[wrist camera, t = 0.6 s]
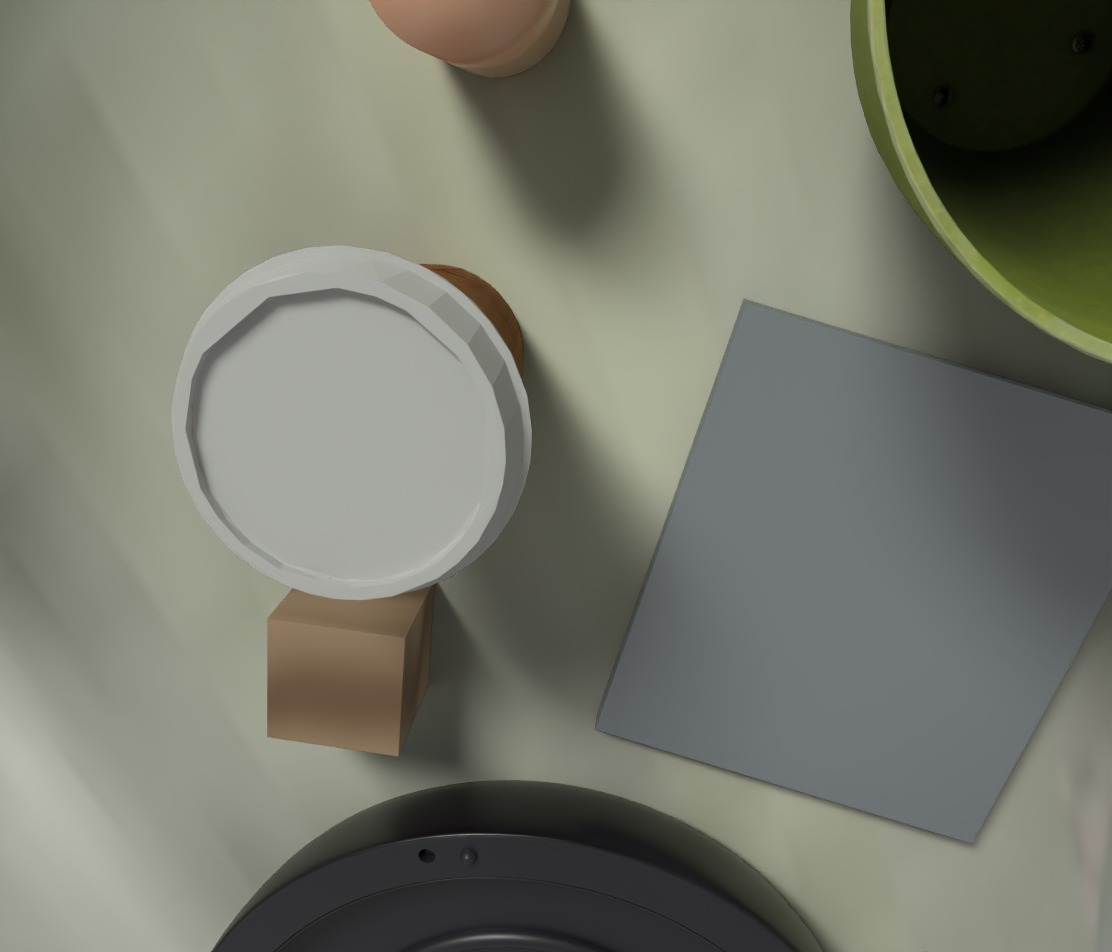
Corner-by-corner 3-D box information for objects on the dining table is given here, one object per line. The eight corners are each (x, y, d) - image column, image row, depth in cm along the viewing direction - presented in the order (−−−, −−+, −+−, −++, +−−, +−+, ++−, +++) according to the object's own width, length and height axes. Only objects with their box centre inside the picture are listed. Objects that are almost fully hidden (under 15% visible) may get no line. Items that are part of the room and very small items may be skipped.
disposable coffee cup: (547, 200, 33) (492, 224, 21) (582, 459, 36) (550, 602, 24) (288, 236, 34) (106, 277, 23) (342, 483, 37) (205, 629, 26)
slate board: (743, 299, 33) (746, 303, 32) (1179, 430, 33) (1194, 439, 32) (596, 715, 39) (595, 729, 38) (963, 827, 39) (971, 843, 38)
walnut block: (314, 561, 38) (267, 618, 33) (435, 577, 38) (405, 637, 33) (312, 668, 40) (267, 737, 35) (428, 684, 40) (398, 756, 35)
